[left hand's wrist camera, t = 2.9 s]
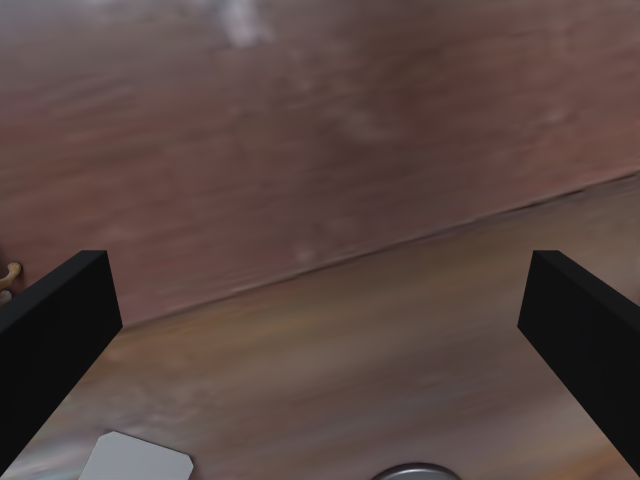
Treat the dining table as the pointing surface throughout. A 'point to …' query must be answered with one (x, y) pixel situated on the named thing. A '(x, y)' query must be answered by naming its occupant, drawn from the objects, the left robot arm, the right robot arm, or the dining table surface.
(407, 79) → the dining table surface
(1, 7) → the dining table surface
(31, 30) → the dining table surface
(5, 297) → the lion figurine
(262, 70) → the dining table surface
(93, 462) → the electronic device
